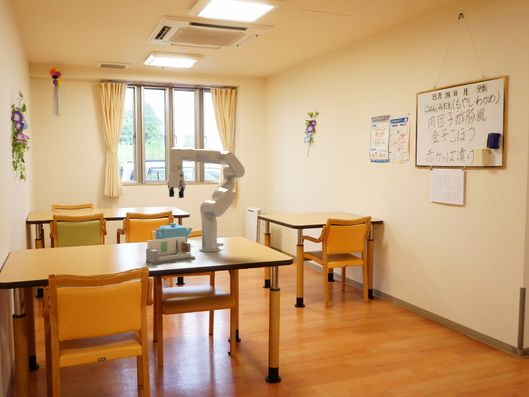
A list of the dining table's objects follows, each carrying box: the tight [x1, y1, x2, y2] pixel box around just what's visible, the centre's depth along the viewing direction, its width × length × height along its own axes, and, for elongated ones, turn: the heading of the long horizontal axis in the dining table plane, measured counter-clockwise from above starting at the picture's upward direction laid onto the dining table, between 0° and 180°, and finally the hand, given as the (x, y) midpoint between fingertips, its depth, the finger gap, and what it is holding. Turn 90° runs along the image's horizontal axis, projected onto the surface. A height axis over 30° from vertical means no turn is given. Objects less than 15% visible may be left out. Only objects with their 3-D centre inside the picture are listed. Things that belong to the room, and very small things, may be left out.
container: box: [154, 222, 193, 243], centre depth 333 cm, size 17×25×15 cm
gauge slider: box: [174, 241, 192, 255], centre depth 290 cm, size 8×8×8 cm
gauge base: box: [145, 237, 196, 266], centre depth 286 cm, size 26×10×12 cm, turn 127°
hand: (176, 197), depth 299 cm, fingers open, 9 cm apart
